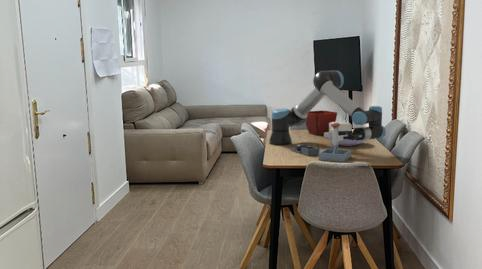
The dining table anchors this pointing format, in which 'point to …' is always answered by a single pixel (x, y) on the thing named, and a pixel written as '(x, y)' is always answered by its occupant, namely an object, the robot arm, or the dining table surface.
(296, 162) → the dining table surface
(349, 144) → the fruit bowl
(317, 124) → the plant pot
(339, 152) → the tray
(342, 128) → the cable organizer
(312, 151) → the bracket
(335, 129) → the lock pin
